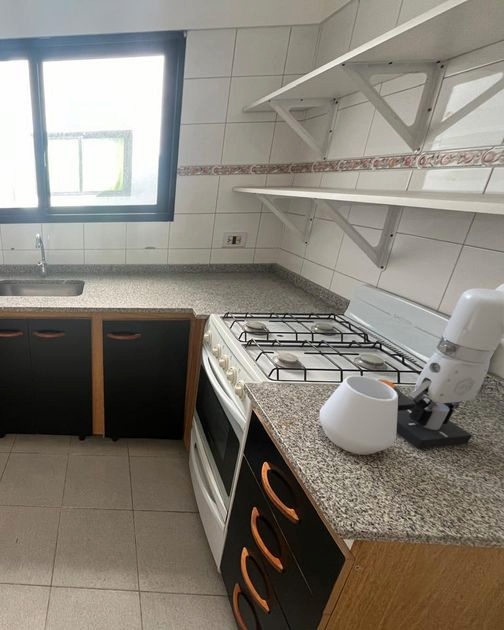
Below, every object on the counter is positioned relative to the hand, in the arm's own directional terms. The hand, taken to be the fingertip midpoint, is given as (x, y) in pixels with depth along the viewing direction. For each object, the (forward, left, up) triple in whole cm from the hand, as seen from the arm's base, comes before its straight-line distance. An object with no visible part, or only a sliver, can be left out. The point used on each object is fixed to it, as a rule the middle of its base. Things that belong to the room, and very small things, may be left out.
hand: (427, 420), depth 77 cm
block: (0, -11, -3) cm, 11 cm away
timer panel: (0, 0, -3) cm, 3 cm away
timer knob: (0, 0, -1) cm, 1 cm away
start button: (0, -11, 0) cm, 11 cm away
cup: (+18, 0, -4) cm, 18 cm away
